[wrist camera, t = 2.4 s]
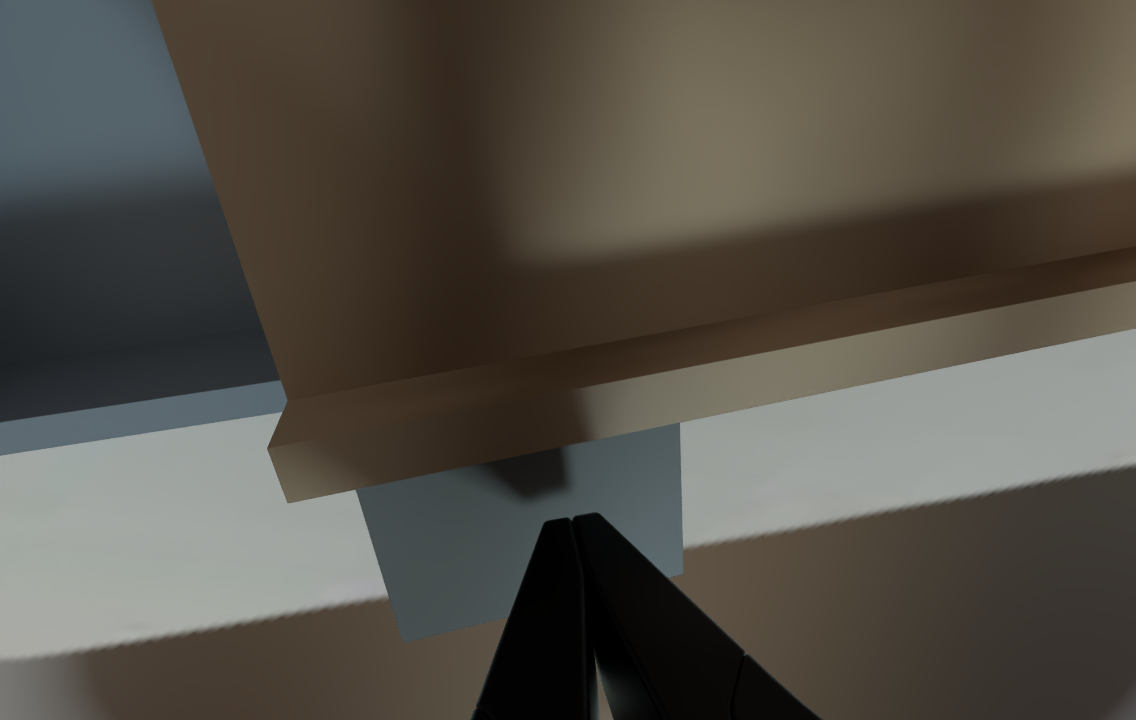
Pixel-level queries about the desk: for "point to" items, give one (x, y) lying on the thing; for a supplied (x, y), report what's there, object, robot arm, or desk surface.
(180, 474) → the desk surface
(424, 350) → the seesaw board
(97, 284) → the tray
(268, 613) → the desk surface
